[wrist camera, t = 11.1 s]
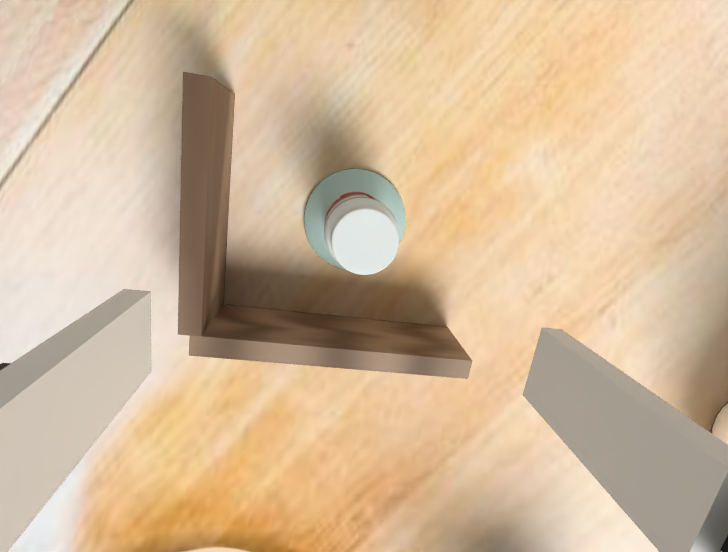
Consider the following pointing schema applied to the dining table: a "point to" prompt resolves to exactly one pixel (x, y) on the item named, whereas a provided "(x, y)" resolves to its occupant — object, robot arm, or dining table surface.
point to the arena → (267, 326)
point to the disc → (340, 185)
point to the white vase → (721, 425)
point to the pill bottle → (361, 233)
